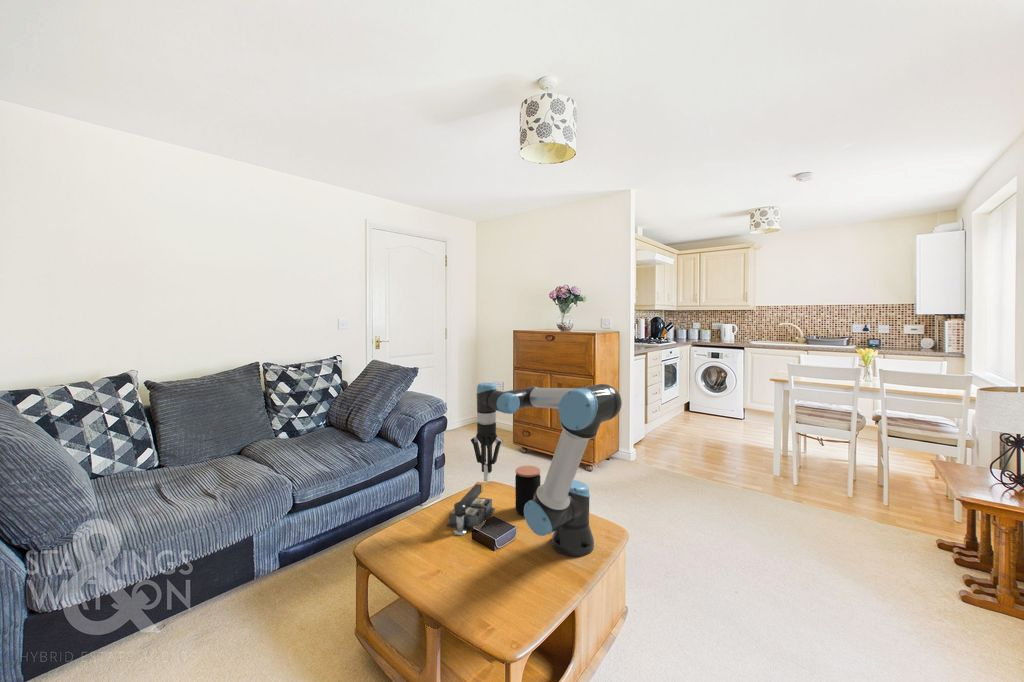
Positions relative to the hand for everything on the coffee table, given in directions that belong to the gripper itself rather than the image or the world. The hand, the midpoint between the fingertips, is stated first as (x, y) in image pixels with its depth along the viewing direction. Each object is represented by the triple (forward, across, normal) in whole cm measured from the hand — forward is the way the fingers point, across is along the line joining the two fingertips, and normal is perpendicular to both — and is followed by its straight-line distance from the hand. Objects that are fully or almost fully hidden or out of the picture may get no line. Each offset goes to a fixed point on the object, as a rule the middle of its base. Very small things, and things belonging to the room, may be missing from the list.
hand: (486, 479), depth 163 cm
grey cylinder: (+18, +8, +9) cm, 22 cm away
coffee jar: (+18, -13, -14) cm, 27 cm away
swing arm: (+11, +8, 0) cm, 13 cm away
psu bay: (+18, +8, -2) cm, 20 cm away
